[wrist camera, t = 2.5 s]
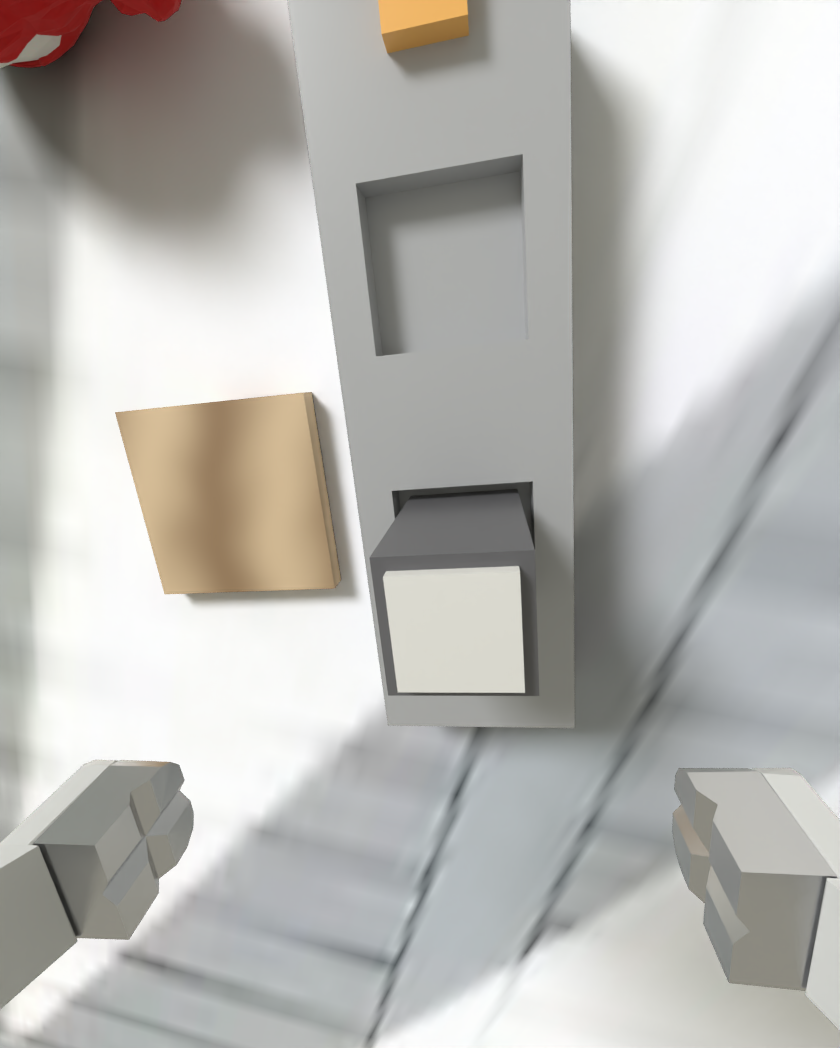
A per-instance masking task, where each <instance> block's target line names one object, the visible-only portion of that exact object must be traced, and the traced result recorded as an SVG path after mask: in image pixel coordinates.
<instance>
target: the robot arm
mask: <svg viewBox="0 0 840 1048" xmlns="http://www.w3.org/2000/svg"><path fill="white" fill-rule="evenodd" d="M183 782H184V777H183V774H182V771H181V769H180V766H179V765H178V764H175V763H172V762H157V761H133V760H120V761H116V760H93V761H91V762H89V763H86V764H84V765H83V766H82V767H80V768H79V769H78V770H77V771H76V772H75V773H74V774H73V775H72V776H71V777H70V778H69V779H68V780H67V781H66V782H65V783H63V784H62V785H61V786H60V787H59V788H58V789H57V790H56V791H55V792H54V793H53V794H52V795H51V796H50V797H49V798H48V799H47V800H45V801H44V802H43V803H42V804H41V805H40V806H39V807H38V808H37V809H36V810H35V811H34V812H33V813H32V814H31V815H30V816H29V817H27V818H26V819H25V820H24V821H23V822H22V823H21V824H20V825H19V826H18V827H17V828H16V829H15V830H14V831H13V832H12V833H11V834H9V835H8V836H7V837H6V838H5V839H4V840H3V841H2V842H1V843H0V1009H1V1008H3V1007H4V1006H5V1005H6V1004H7V1003H8V1002H9V1001H10V1000H12V999H13V998H14V997H15V996H16V995H17V994H18V993H20V992H21V991H22V990H23V989H24V988H25V987H26V986H27V985H29V984H30V983H31V982H32V981H33V980H34V979H35V978H37V977H38V976H39V975H40V974H41V973H42V972H43V971H45V970H46V969H47V968H48V967H49V966H50V965H51V964H52V963H54V962H55V961H56V960H57V959H58V958H59V957H60V956H62V955H63V954H64V953H65V952H66V951H67V950H68V949H70V948H71V947H72V946H73V945H74V944H75V943H76V942H77V938H95V939H125V940H129V939H130V937H131V936H132V934H133V933H134V931H135V930H136V928H137V926H138V925H139V923H140V922H141V920H142V919H143V917H144V915H145V914H146V912H147V911H148V909H149V908H150V906H151V904H152V903H153V901H154V900H155V898H156V897H157V895H158V893H159V878H160V877H162V876H163V875H164V874H166V873H167V872H168V871H169V870H171V869H172V868H173V867H175V866H176V865H177V863H178V862H179V860H180V858H181V857H182V855H183V853H184V852H185V850H186V848H187V846H188V843H189V840H190V837H191V833H192V830H193V818H194V813H193V809H192V805H191V801H190V800H189V799H188V798H187V797H186V796H185V795H184V794H183V793H182V792H181V791H180V788H181V786H182V784H183ZM674 790H675V792H676V794H677V796H678V798H679V800H680V802H681V805H680V806H679V807H678V808H677V809H676V810H675V811H674V813H673V822H672V833H673V839H674V845H675V852H676V855H677V859H678V862H679V865H680V868H681V871H682V874H683V876H684V879H685V881H686V883H687V886H688V888H689V890H691V891H692V892H693V893H694V894H695V895H696V896H697V897H698V898H699V899H700V900H701V901H703V902H704V903H705V910H704V923H703V924H704V926H705V929H706V931H707V933H708V935H709V938H710V940H711V942H712V945H713V947H714V949H715V952H716V954H717V956H718V959H719V961H720V963H721V966H722V968H723V970H724V973H725V975H726V977H727V980H728V982H729V983H735V984H745V985H755V986H764V987H774V988H784V989H794V990H803V991H806V993H805V995H806V996H807V997H808V999H809V1000H810V1001H811V1002H812V1003H813V1004H814V1005H815V1006H816V1007H817V1008H818V1009H819V1010H820V1011H821V1012H822V1013H823V1014H824V1015H825V1016H826V1017H827V1018H828V1019H829V1020H830V1021H831V1022H832V1023H833V1024H834V1026H835V1027H836V1028H837V1029H838V1030H839V1031H840V820H839V819H838V818H837V816H836V815H835V814H834V813H833V812H832V811H831V809H830V808H829V807H828V806H827V805H826V804H825V802H824V801H823V800H822V799H821V798H820V796H819V795H818V794H817V793H816V792H815V791H814V789H813V788H812V787H811V786H810V785H809V784H808V782H807V781H806V780H805V779H804V778H803V777H802V775H801V774H800V773H798V772H797V771H795V770H793V769H792V768H752V769H748V768H679V769H678V771H677V773H676V775H675V785H674Z"/></svg>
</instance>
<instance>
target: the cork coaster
mask: <svg viewBox="0 0 840 1048" xmlns="http://www.w3.org/2000/svg"><path fill="white" fill-rule="evenodd" d="M115 414H116V417H117V421H118V425H119V428H120V432H121V436H122V439H123V443H124V447H125V450H126V454H127V458H128V461H129V465H130V469H131V472H132V476H133V480H134V483H135V487H136V491H137V494H138V498H139V502H140V505H141V509H142V513H143V516H144V520H145V524H146V527H147V531H148V535H149V538H150V542H151V546H152V549H153V553H154V557H155V561H156V564H157V568H158V572H159V575H160V579H161V583H162V586H163V590H164V594H186V593H216V592H245V591H274V590H303V589H333V588H335V587H336V586H337V585H338V583H339V582H340V581H341V576H340V570H339V564H338V557H337V551H336V544H335V538H334V532H333V525H332V519H331V512H330V506H329V500H328V493H327V487H326V480H325V474H324V468H323V461H322V455H321V448H320V442H319V436H318V429H317V423H316V416H315V410H314V404H313V397H312V392H308V393H296V394H287V395H277V396H268V397H258V398H248V399H239V400H229V401H220V402H210V403H201V404H191V405H182V406H172V407H163V408H153V409H144V410H134V411H125V412H115Z"/></svg>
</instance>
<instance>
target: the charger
mask: <svg viewBox="0 0 840 1048" xmlns="http://www.w3.org/2000/svg"><path fill="white" fill-rule="evenodd" d="M369 559H370V566H371V574H372V581H373V588H374V596H375V603H376V610H377V618H378V625H379V632H380V640H381V647H382V654H383V662H384V669H385V676H386V684H387V691H388V696H539V666H538V633H537V600H536V568H535V549H534V545H533V542H532V538H531V535H530V531H529V528H528V524H527V521H526V517H525V514H524V511H523V507H522V504H521V500H520V497H519V493H518V490H517V489H505V490H489V491H474V492H459V493H444V494H428V495H413V496H410V498H409V499H408V501H407V502H406V504H405V505H404V507H403V508H402V510H401V511H400V513H399V514H398V516H397V517H396V519H395V520H394V522H393V523H392V525H391V526H390V528H389V529H388V530H387V532H386V533H385V535H384V536H383V538H382V539H381V541H380V542H379V544H378V545H377V547H376V548H375V550H374V551H373V553H372V554H371V556H370V557H369Z"/></svg>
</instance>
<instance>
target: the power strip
mask: <svg viewBox="0 0 840 1048" xmlns="http://www.w3.org/2000/svg"><path fill="white" fill-rule="evenodd" d="M287 2H288V9H289V16H290V23H291V31H292V38H293V45H294V52H295V59H296V67H297V74H298V81H299V88H300V95H301V103H302V110H303V117H304V124H305V131H306V139H307V146H308V153H309V160H310V167H311V175H312V182H313V189H314V196H315V203H316V210H317V218H318V225H319V232H320V239H321V246H322V254H323V261H324V268H325V275H326V282H327V290H328V297H329V304H330V311H331V318H332V326H333V333H334V340H335V347H336V354H337V362H338V369H339V376H340V383H341V390H342V398H343V405H344V412H345V419H346V426H347V434H348V441H349V448H350V455H351V462H352V470H353V477H354V484H355V491H356V498H357V506H358V513H359V520H360V527H361V534H362V541H363V549H364V556H365V563H366V570H367V577H368V585H369V592H370V599H371V606H372V613H373V621H374V628H375V635H376V642H377V649H378V657H379V664H380V671H381V678H382V685H383V693H384V700H385V707H386V714H387V721H388V726H457V727H527V728H575V667H574V504H573V342H572V179H571V17H570V0H287ZM505 489H517V490H518V493H519V497H520V500H521V504H522V507H523V511H524V514H525V517H526V521H527V524H528V528H529V531H530V535H531V538H532V542H533V545H534V549H535V568H536V600H537V633H538V666H539V696H388V691H387V684H386V676H385V669H384V662H383V654H382V647H381V640H380V632H379V625H378V618H377V610H376V603H375V596H374V588H373V581H372V574H371V566H370V559H369V557H370V556H371V554H372V553H373V551H374V550H375V548H376V547H377V545H378V544H379V542H380V541H381V539H382V538H383V536H384V535H385V533H386V532H387V530H388V529H389V528H390V526H391V525H392V523H393V522H394V520H395V519H396V517H397V516H398V514H399V513H400V511H401V510H402V508H403V507H404V505H405V504H406V502H407V501H408V499H409V498H410V496H413V495H428V494H444V493H459V492H474V491H489V490H505Z"/></svg>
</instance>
